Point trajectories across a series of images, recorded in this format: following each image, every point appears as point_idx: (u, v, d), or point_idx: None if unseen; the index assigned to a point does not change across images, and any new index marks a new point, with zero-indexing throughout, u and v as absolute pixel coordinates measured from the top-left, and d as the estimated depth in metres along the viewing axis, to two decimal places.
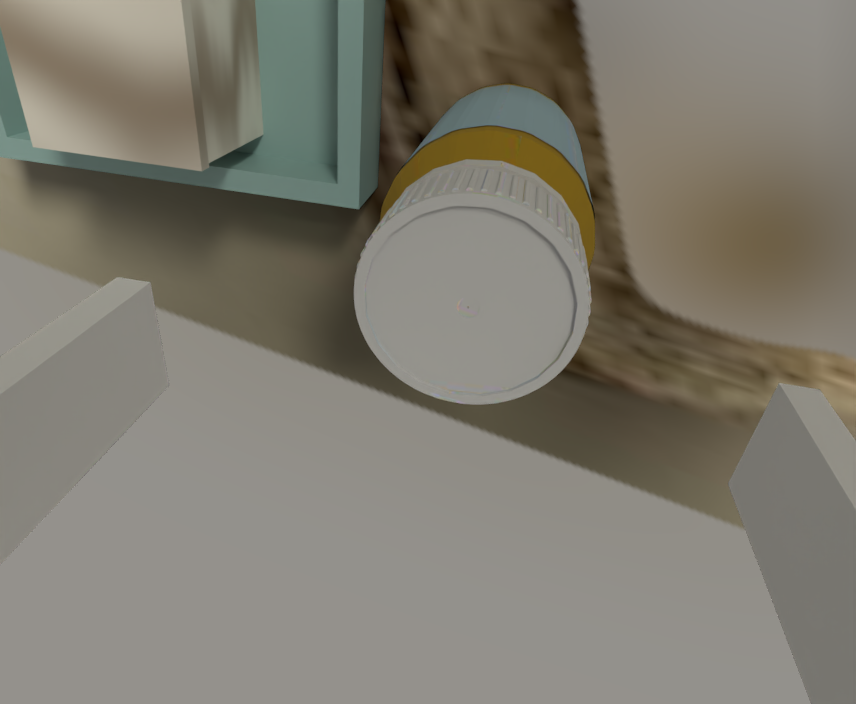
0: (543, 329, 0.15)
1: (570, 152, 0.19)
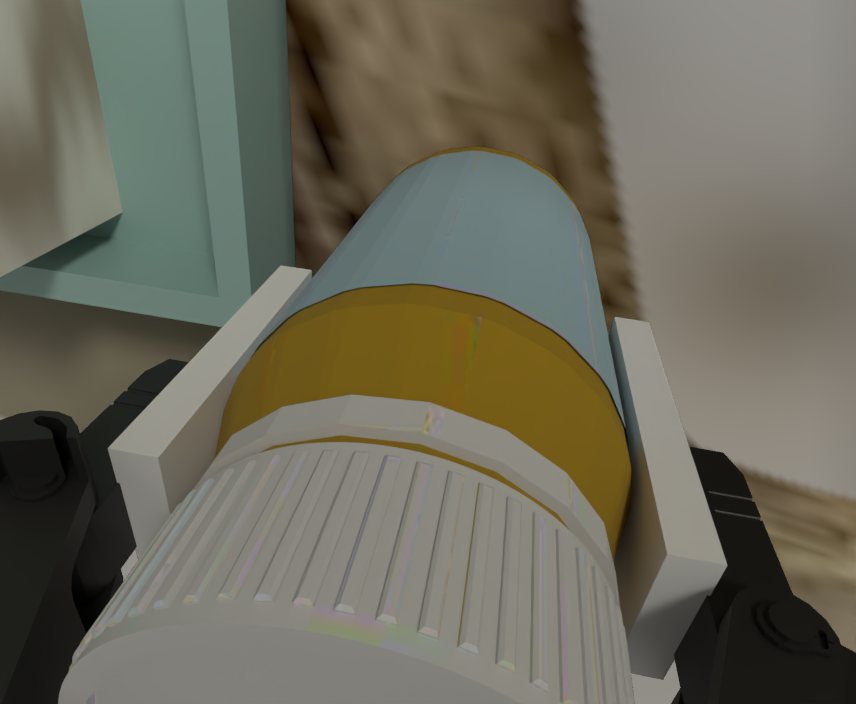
0: None
1: (580, 310, 0.10)
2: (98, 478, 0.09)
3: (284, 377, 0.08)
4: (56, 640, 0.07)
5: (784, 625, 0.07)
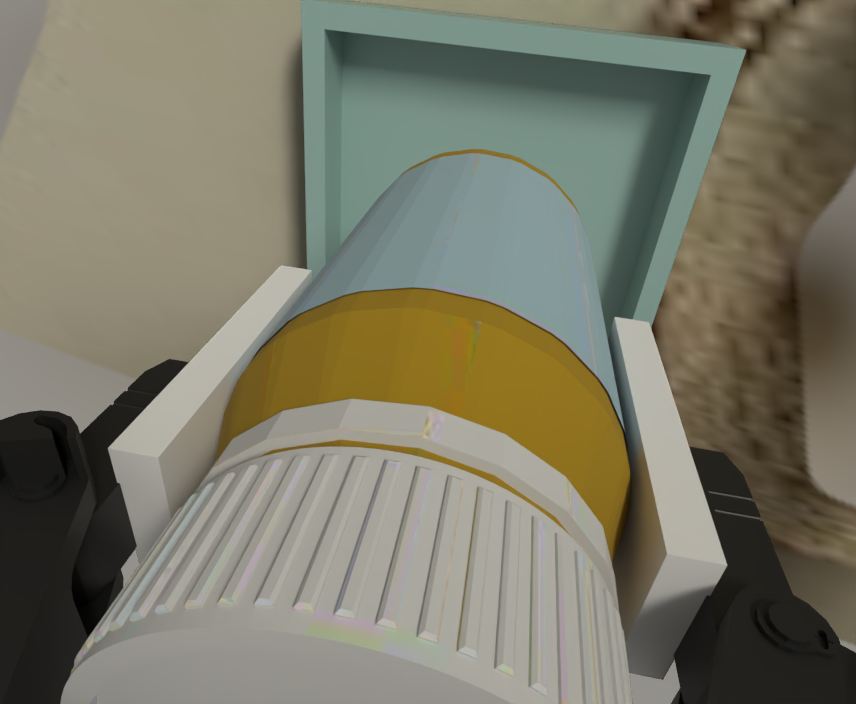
0: None
1: (579, 313, 0.10)
2: (98, 478, 0.09)
3: (284, 381, 0.08)
4: (56, 640, 0.07)
5: (784, 625, 0.07)
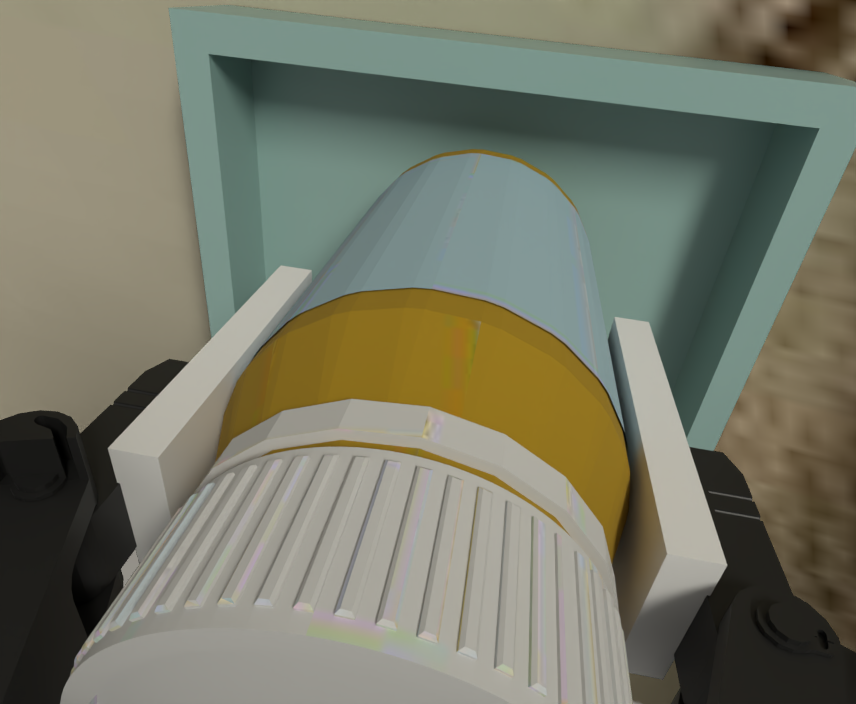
0: None
1: (579, 314, 0.10)
2: (98, 478, 0.09)
3: (284, 381, 0.08)
4: (56, 640, 0.07)
5: (784, 625, 0.07)
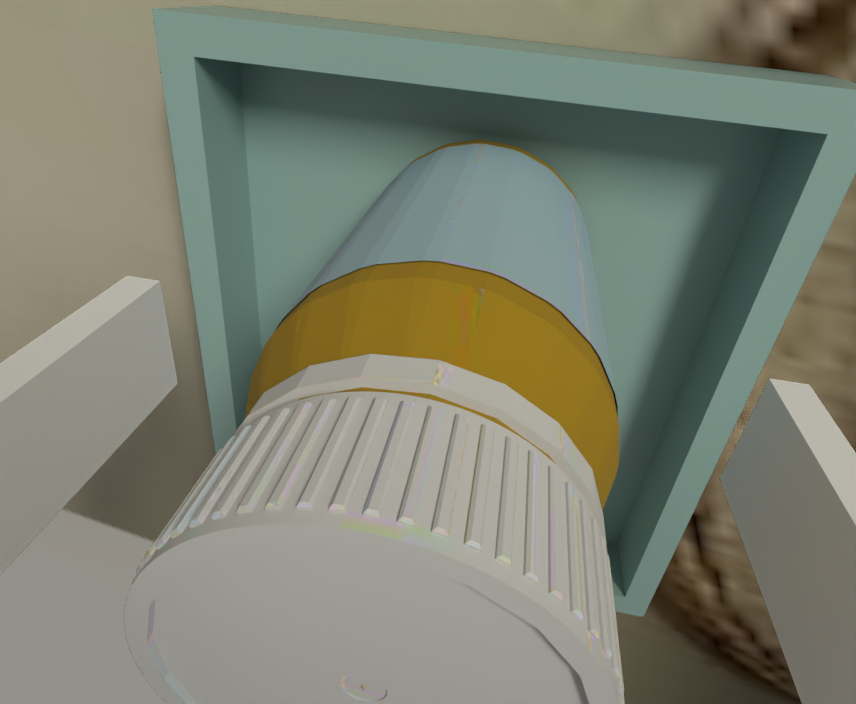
0: None
1: (574, 287, 0.11)
2: None
3: (309, 342, 0.09)
4: None
5: None
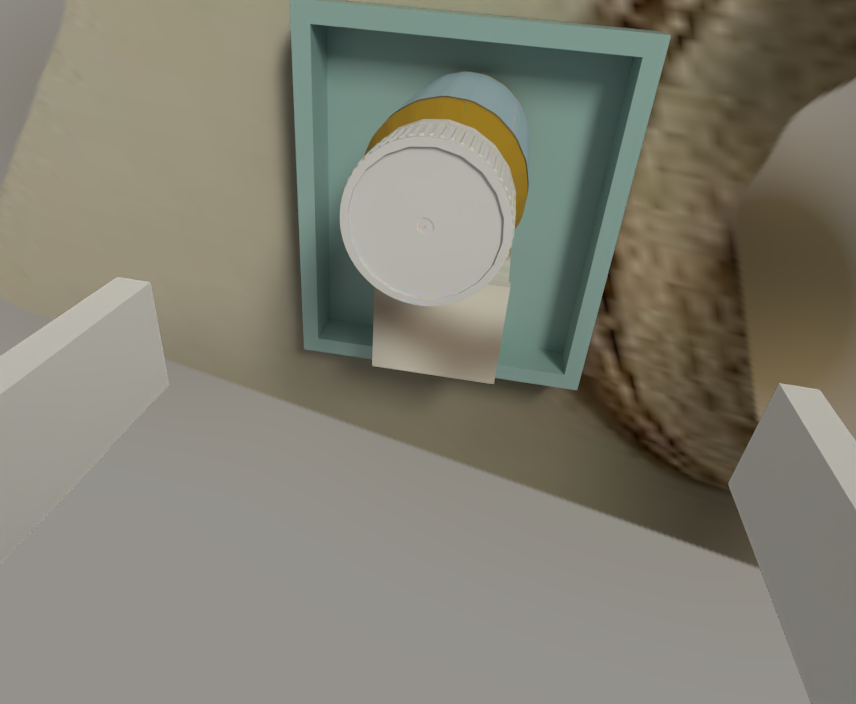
0: (481, 241, 0.20)
1: (508, 118, 0.24)
2: None
3: (395, 125, 0.22)
4: None
5: None
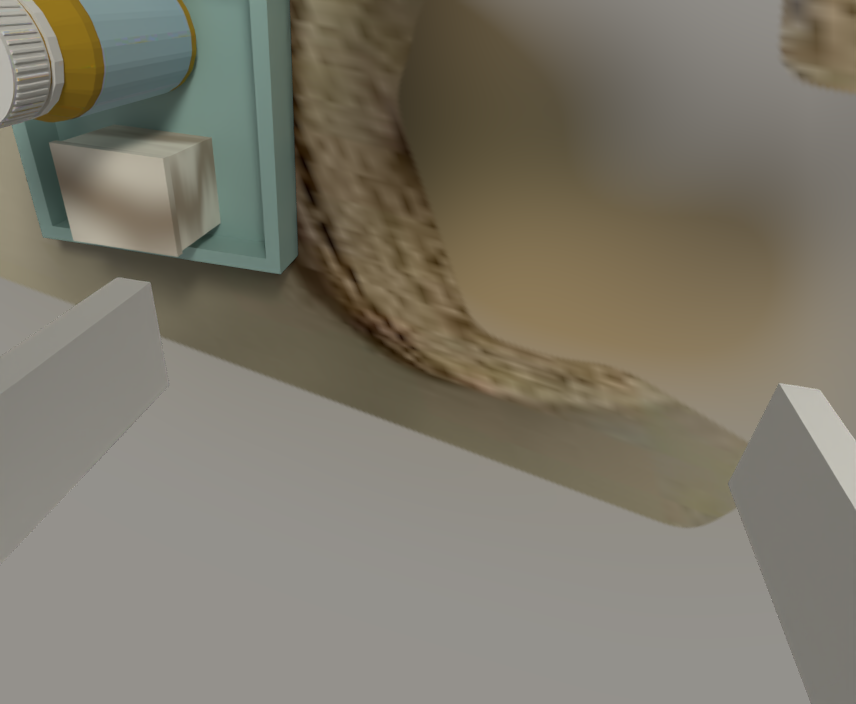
0: None
1: None
2: None
3: None
4: None
5: None
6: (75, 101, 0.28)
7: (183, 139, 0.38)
